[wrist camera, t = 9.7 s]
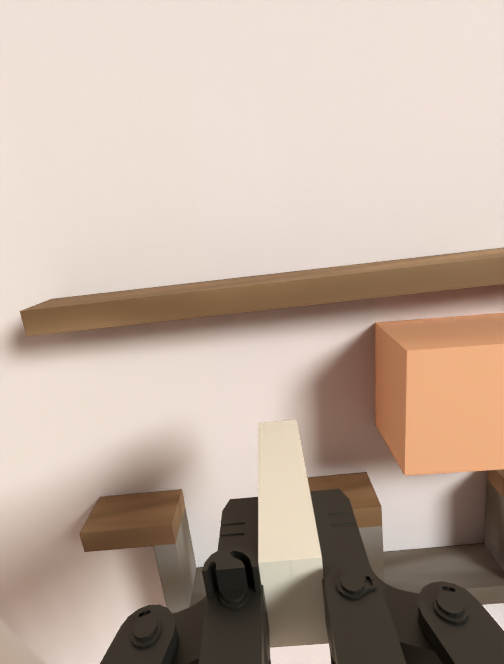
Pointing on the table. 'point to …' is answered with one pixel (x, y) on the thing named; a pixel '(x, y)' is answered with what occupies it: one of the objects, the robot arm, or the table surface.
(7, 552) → the table surface
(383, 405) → the terracotta block
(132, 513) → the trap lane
